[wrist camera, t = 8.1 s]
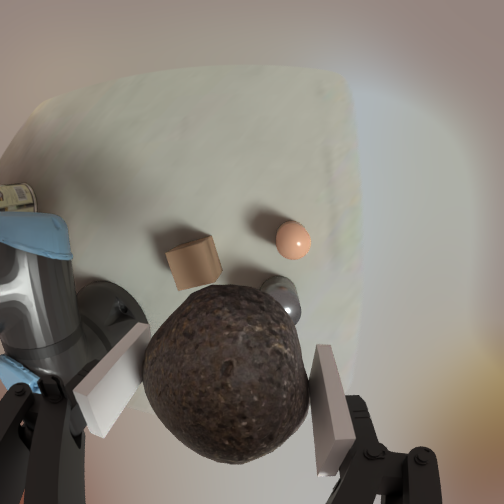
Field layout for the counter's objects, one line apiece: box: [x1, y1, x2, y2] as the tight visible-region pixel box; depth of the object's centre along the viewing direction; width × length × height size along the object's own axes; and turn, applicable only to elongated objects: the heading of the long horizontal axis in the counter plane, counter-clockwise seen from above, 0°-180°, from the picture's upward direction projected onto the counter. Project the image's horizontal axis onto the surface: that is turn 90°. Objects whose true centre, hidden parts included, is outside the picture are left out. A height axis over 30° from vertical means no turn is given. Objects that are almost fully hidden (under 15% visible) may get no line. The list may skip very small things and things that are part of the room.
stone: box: [143, 284, 310, 464], centre depth 13 cm, size 10×8×10 cm
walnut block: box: [165, 236, 223, 291], centre depth 36 cm, size 5×5×5 cm
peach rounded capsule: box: [276, 221, 311, 260], centre depth 34 cm, size 4×4×4 cm
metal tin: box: [260, 276, 301, 325], centre depth 35 cm, size 5×5×6 cm
